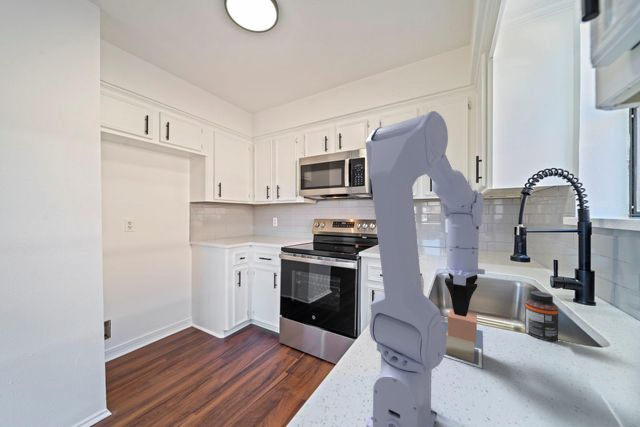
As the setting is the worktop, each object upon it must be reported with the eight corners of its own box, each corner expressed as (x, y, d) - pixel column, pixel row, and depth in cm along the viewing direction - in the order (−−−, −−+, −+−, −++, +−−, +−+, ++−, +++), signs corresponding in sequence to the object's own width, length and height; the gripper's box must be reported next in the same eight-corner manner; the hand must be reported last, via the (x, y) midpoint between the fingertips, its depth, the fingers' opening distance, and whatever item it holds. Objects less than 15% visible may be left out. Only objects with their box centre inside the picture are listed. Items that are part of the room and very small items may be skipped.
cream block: (474, 362, 48) (474, 342, 48) (445, 353, 51) (446, 334, 51) (474, 350, 52) (474, 332, 52) (448, 343, 55) (448, 325, 55)
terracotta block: (476, 342, 48) (476, 322, 48) (447, 335, 50) (448, 316, 50) (476, 332, 52) (476, 314, 52) (450, 326, 55) (450, 308, 55)
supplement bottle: (537, 332, 63) (538, 288, 63) (564, 344, 57) (565, 296, 57) (518, 334, 61) (519, 290, 61) (545, 347, 56) (546, 298, 56)
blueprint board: (483, 374, 46) (483, 368, 46) (407, 350, 54) (407, 345, 54) (482, 334, 61) (482, 330, 61) (423, 320, 69) (423, 316, 69)
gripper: (485, 253, 43) (484, 329, 43) (484, 244, 55) (483, 304, 55) (441, 249, 47) (440, 319, 47) (449, 242, 59) (448, 297, 59)
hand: (461, 310), depth 51 cm, fingers open, 5 cm apart
